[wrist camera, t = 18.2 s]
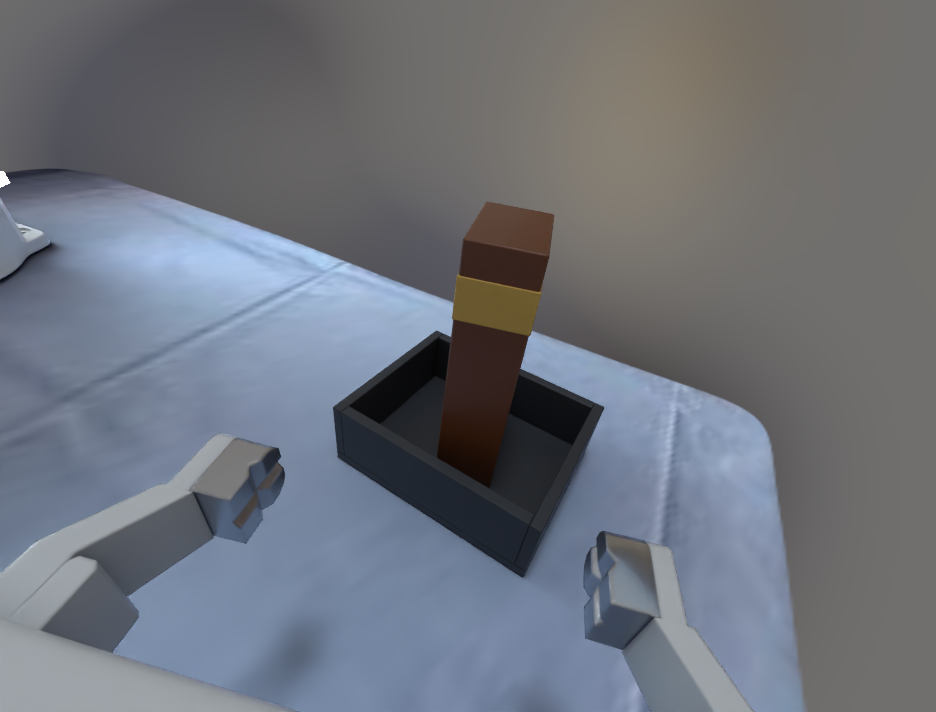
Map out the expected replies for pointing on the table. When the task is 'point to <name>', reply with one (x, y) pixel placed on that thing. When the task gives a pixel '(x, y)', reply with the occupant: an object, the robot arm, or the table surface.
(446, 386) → the chocolate box
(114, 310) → the table surface
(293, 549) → the table surface
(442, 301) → the table surface
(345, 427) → the tray
